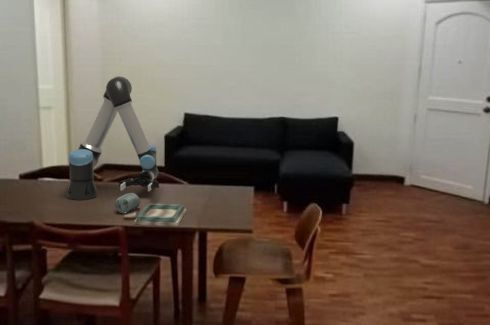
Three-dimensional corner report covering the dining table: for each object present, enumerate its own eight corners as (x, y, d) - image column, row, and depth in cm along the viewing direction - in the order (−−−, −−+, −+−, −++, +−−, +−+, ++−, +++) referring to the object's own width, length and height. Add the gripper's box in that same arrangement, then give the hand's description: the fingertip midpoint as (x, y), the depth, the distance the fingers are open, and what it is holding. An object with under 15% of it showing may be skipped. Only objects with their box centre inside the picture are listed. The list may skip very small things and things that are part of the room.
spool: (128, 209, 248) (123, 189, 250) (112, 216, 252) (107, 196, 254) (147, 209, 260) (142, 190, 262) (132, 216, 264) (127, 196, 266)
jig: (134, 224, 238) (133, 216, 237) (146, 210, 260) (146, 203, 259) (177, 226, 237) (177, 218, 236) (186, 211, 258) (186, 204, 258)
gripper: (169, 185, 287) (160, 196, 267) (122, 184, 289) (110, 195, 268) (168, 171, 286) (159, 181, 265) (121, 170, 287) (109, 180, 267)
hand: (134, 188), depth 267 cm, fingers open, 13 cm apart
